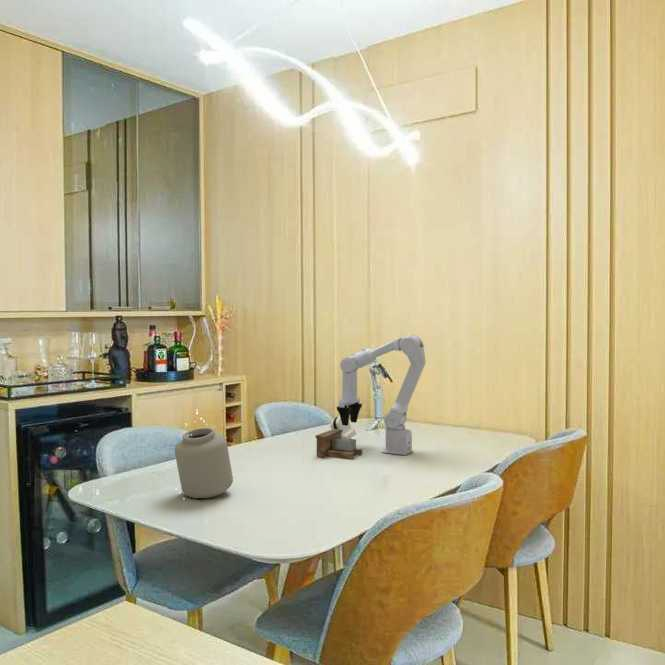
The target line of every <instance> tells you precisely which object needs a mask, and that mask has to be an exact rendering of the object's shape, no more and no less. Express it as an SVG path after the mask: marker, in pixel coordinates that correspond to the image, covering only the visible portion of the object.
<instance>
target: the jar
mask: <svg viewBox="0 0 665 665" xmlns="http://www.w3.org/2000/svg"><path fill="white" fill-rule="evenodd" d="M198 411H199V410H198V409H196V415H198V414H199V412H198ZM199 420H202V421H203V423H205V419H203V418H202V417H200V418H199ZM194 423H196V420H195V421H194ZM184 425H186V427H188V424H187V423H186V422H185V423H184ZM207 425H208V423H206V426H207ZM214 428H216V426H214ZM214 428H213V427H200V428H195V429H190V430H188V431H186V432H185V433H184V434H183V435H182V439H181V440H179V442H177V443H176V445H175V447H174V454H175V455H174V456H175V459H176V460H175V461H176V466H177V472H178V477H179V481H180V487H181V491H182V493H183V494H184V495H185V496H186V497H188V496H189V497H188V498H191V497H193V498H192V499H195V498H205V499H210V498H213V497H217V496H218V495H219V496H220V495H221V494H223V493H225V492H226V491H227V490H229V489H230V488H231V486H232V484H233V482H234V476H233V471H232V464H231V459H230V458H231V457H230V454H229V448H228V441H227V438H226V437H225V436H224V435H223V434H221V433H219V432H216V431H215V429H214ZM175 490H177V488H175ZM181 491H179V494H181ZM183 500H185V498H184V497H183Z"/></svg>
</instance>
